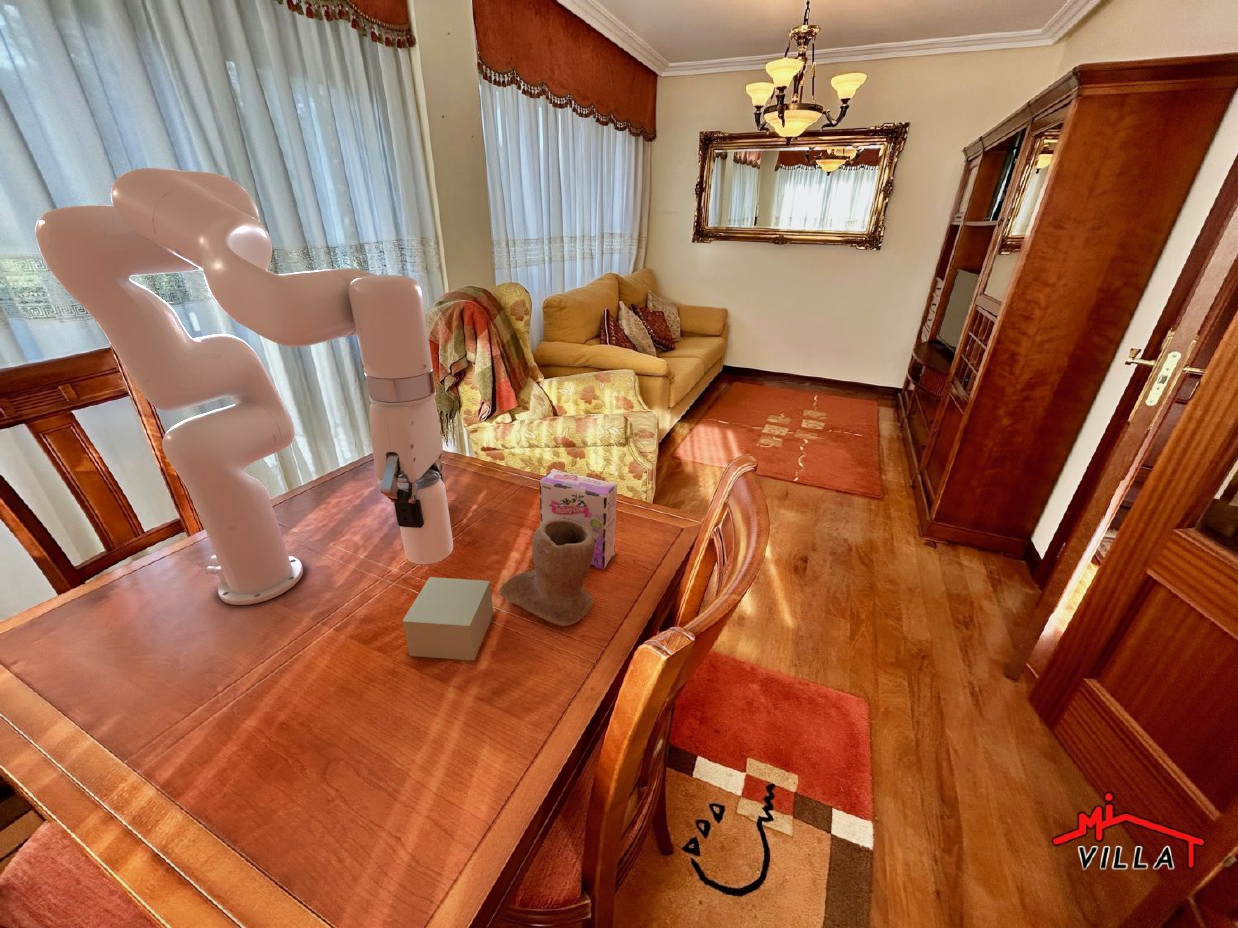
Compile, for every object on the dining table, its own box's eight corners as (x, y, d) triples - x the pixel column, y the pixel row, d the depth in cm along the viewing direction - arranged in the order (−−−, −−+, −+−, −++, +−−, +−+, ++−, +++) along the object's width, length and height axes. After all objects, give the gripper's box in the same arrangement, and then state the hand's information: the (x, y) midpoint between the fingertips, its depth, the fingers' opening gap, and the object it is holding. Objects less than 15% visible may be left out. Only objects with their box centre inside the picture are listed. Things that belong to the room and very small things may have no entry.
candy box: (540, 552, 100) (537, 480, 92) (554, 537, 104) (552, 467, 97) (604, 570, 95) (605, 496, 88) (615, 553, 100) (618, 481, 93)
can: (439, 570, 68) (426, 493, 63) (396, 562, 69) (380, 487, 64) (462, 542, 74) (452, 470, 68) (422, 536, 75) (409, 465, 69)
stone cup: (608, 598, 88) (610, 527, 82) (565, 640, 79) (564, 564, 73) (543, 566, 96) (540, 499, 89) (497, 601, 87) (490, 529, 80)
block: (409, 656, 76) (401, 621, 73) (435, 609, 85) (429, 576, 81) (474, 660, 75) (469, 625, 72) (493, 613, 84) (489, 580, 81)
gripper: (403, 364, 68) (422, 479, 76) (329, 408, 53) (363, 547, 61) (457, 367, 68) (471, 482, 76) (399, 412, 52) (423, 551, 60)
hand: (423, 510), depth 68 cm, fingers closed on can, 6 cm apart
